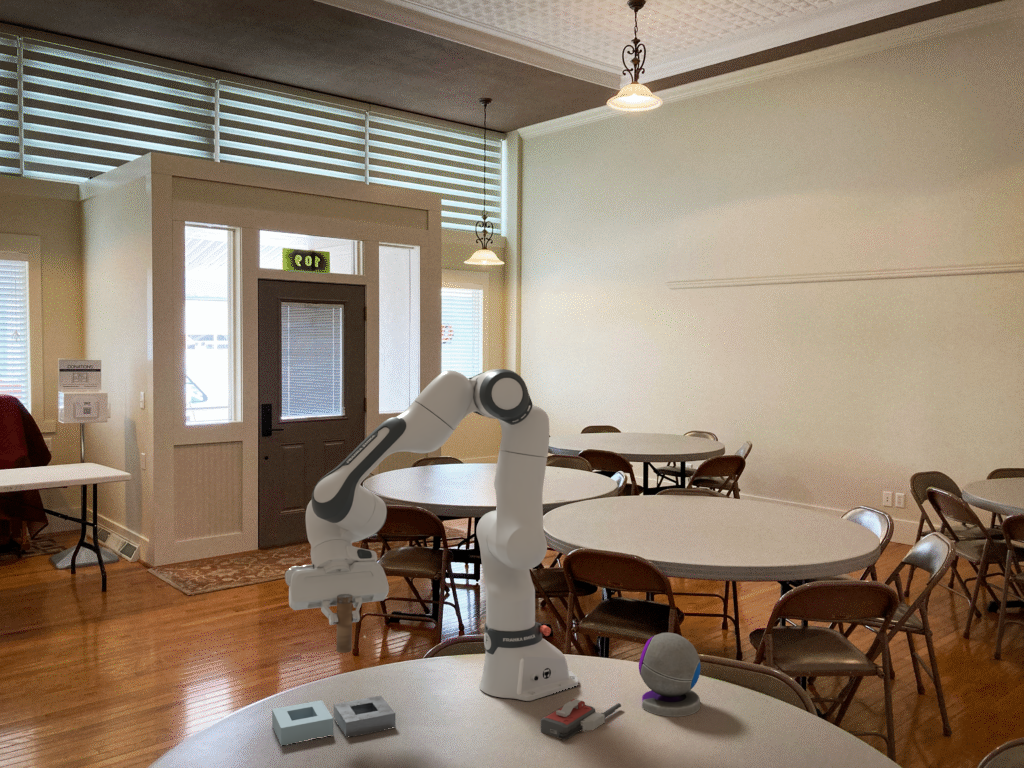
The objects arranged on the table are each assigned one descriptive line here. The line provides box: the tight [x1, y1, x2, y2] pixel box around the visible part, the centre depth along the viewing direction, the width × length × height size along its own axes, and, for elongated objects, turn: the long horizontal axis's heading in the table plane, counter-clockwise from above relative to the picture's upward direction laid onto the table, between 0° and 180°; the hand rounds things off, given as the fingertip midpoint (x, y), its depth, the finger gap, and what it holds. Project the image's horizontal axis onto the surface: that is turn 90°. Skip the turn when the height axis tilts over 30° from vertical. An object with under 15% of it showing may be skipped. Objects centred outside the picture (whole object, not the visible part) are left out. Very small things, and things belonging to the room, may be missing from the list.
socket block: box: [333, 695, 397, 738], centre depth 167 cm, size 10×10×3 cm
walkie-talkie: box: [540, 698, 622, 740], centre depth 167 cm, size 9×4×20 cm
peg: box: [336, 594, 353, 654], centre depth 165 cm, size 3×3×11 cm
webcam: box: [638, 632, 701, 717], centre depth 175 cm, size 13×13×15 cm
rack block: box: [271, 699, 334, 746], centre depth 163 cm, size 10×10×4 cm
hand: (345, 622), depth 165 cm, fingers closed on peg, 3 cm apart
